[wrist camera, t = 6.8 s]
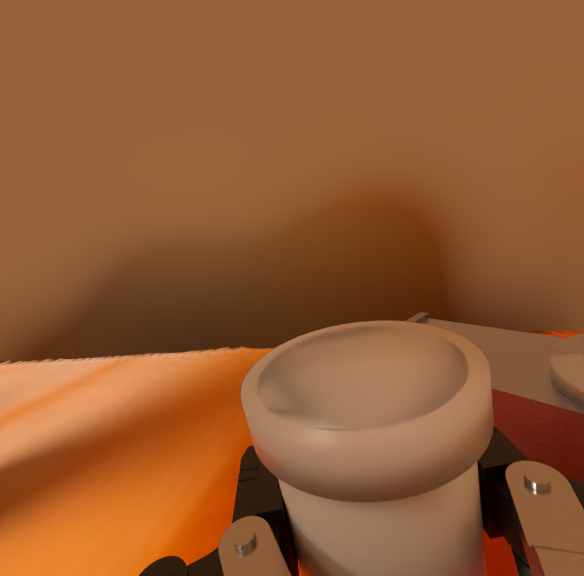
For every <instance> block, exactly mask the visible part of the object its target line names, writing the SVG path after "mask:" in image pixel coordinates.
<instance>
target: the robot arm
mask: <svg viewBox="0 0 584 576" xmlns="http://www.w3.org/2000/svg"><path fill="white" fill-rule="evenodd" d="M477 465H478V477H479V489H480V501H481V512H482V524H483V529H484V530H485V532H486V533H487V535H488V536H489V538H490V539H491V538H496V537H501V536H504V537H505V539H506V540H507V542H508V543H509V545H510V555H511V560H512V564H513V567H514V571H515V575H516V576H584V482H583V481H571V480H567V479H566V478H565V477H564V476H563V475H562V474H561V473H560V472H558V471H557V470H555V469H553V468H552V467H550V466H547V465H545V464H542V463H539V462H534V461H530V460H529V459H528V458H527V457H526V456H525V455H524V454H523V453H522V452H521V451H520V450H519V449H518V448H517V447H516V446H515V445H514V444H513V443H512V442H511V441H510V440H509V439H508V438H507V437H506V436H505V435H504V434H503V433H501V432H500V431H498V429H497V428H496V427H495V426H494V427H493V435H492V437H491V440H490V442H489V445H488V447H487V449H486V450H485V452H484V453H483V455H482V456H481V458H480V459H479V460H478V461H477ZM139 576H299V569H298V557H297V553H296V549H295V545H294V541H293V537H292V533H291V529H290V525H289V521H288V516H287V512H286V508H285V504H284V500H283V496H282V492H281V488H280V484H279V480H278V478H277V477H276V476H275V475H273V474H272V473H271V472H270V471H269V470H268V469H267V468H266V467H265V466H264V465H263V464H262V462H261V461H260V459H259V457H258V456H257V454H256V452H255V449H254V446H249V447H248V448H247V450H246V452H245V453H244V455H243V456H242V458H241V464H240V473H239V479H238V486H237V493H236V500H235V507H234V514H233V521H232V524H231V525H230V526H229V527H228V528H227V530H226V531H225V532H224V534H223V535H222V537H221V540H220V543H219V547H218V548H217V549H215V550H214V551H213V552H211V553H210V554H208V555H207V556H205V557H203V558H201V559H199V560H197V561H195V562H193V563H192V564H190V565H188V566H186V564H185V562H184V561H183V560H182V559H181V558H179V557H177V556H168V557H164V558H161V559H159V560H157V561H155V562H153V563H152V564H150V565H149V566H148V567H147V568H146V569H144V570H143V572H142V573H141V574H140V575H139Z"/></svg>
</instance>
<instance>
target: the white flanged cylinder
mask: <svg viewBox="0 0 584 576" xmlns="http://www.w3.org/2000/svg"><path fill="white" fill-rule="evenodd" d="M241 401H242V405H243V409H244V412H245V416H246V420H247V424H248V428H249V432H250V436H251V439H252V443H253V446H254V449H255V452H256V454H257V456H258V457H259V459H260V461H261V462H262V464H263V465H264V466H265V467H266V468H267V469H268V470H269V471H270V472H271V473H272V474H273V475H275V476H276V477H277V478H278V480H279V484H280V488H281V492H282V496H283V500H284V504H285V508H286V512H287V516H288V521H289V525H290V529H291V533H292V537H293V541H294V545H295V549H296V553H297V557H298V561H299V565H300V570H301V574H302V576H487V571H486V559H485V547H484V536H483V524H482V512H481V501H480V489H479V477H478V465H477V461H478V460H479V459H480V458H481V456H482V455H483V453H484V452H485V450H486V449H487V447H488V445H489V442H490V440H491V437H492V435H493V427H494V417H493V403H492V389H491V374H490V367H489V363H488V361H487V359H486V357H485V355H484V354H483V353H482V351H481V350H480V349H479V348H478V347H477V346H476V345H474V344H473V343H472V342H470V341H469V340H467V339H466V338H464V337H462V336H460V335H458V334H456V333H454V332H451V331H448V330H445V329H442V328H439V327H435V326H431V325H426V324H421V323H414V322H404V321H368V322H357V323H349V324H343V325H338V326H333V327H328V328H324V329H320V330H317V331H314V332H310V333H308V334H304V335H302V336H299V337H297V338H294V339H292V340H290V341H288V342H286V343H284V344H282V345H280V346H278V347H276V348H275V349H273V350H271V351H270V352H268V353H267V354H266V355H264V356H263V357H262V358H261V359H260V360H258V361H257V362H256V363H255V364H254V365H253V367H252V368H251V369H250V370H249V372H248V373H247V375H246V376H245V378H244V381H243V383H242V387H241Z"/></svg>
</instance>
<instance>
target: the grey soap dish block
mask: <svg viewBox="0 0 584 576" xmlns="http://www.w3.org/2000/svg"><path fill="white" fill-rule="evenodd" d="M405 322H414V323H421V324H426V325H431V326H435V327H439V328H442V329H445V330H448V331H451V332H454V333H456V334H458V335H460V336H462V337H464V338H466V339H467V340H469V341H470V342H472V343H473V344H474V345H476V346H477V347H478V348H479V349H480V350H481V351H482V353H483V354H484V355H485V357H486V359H487V361H488V363H489V367H490V374H491V389H492V403H493V417H494V426H495V427H496V428H497V429H498V431H500V432H501V433H503V434H504V435H505V436H506V437H507V438H508V439H509V440H510V441H511V442H512V443H513V444H514V445H515V446H516V447H517V448H518V449H519V450H520V451H521V452H522V453H523V454H524V455H525V456H526V457H527V458H528V459H529V460H530V461H534V462H539V463H542V464H545V465H547V466H550V467H552V468H553V469H555V470H557V471H558V472H560V473H561V474H562V475H563V476H564V477H565V478H567V479H569V480H572V481H583V482H584V334H580V335H576V336H572V337H569V338H561V337H554V336H547V335H540V334H533V333H526V332H519V331H512V330H504V329H498V328H491V327H484V326H477V325H470V324H462V323H456V322H449V321H442V320H435V319H429V315H428V313H419V314H417V315H415V316H413V317H412V318H410V319H409V320H406V321H405Z"/></svg>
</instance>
